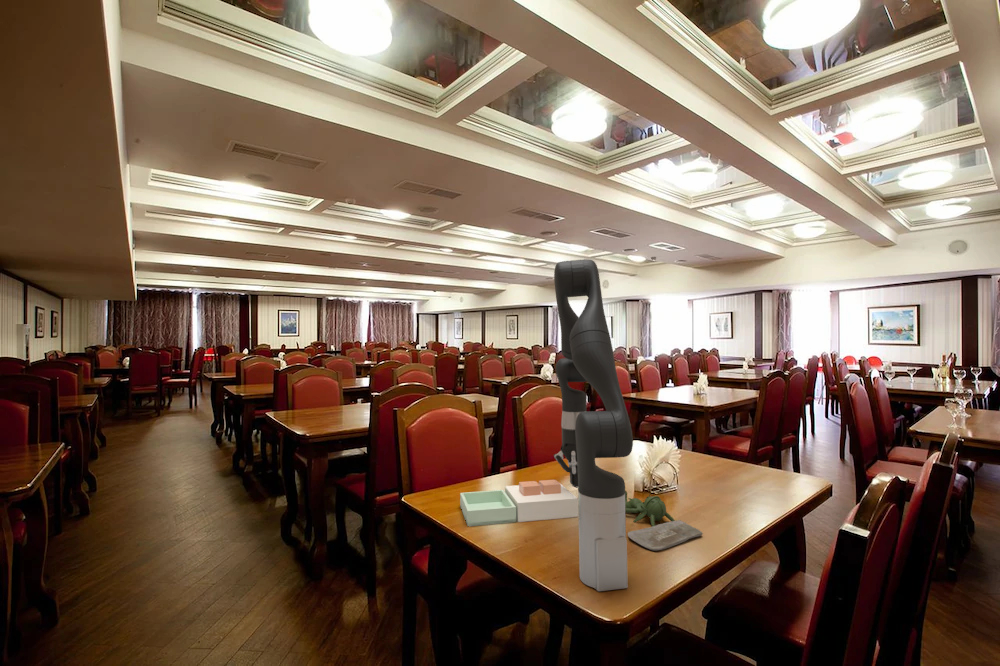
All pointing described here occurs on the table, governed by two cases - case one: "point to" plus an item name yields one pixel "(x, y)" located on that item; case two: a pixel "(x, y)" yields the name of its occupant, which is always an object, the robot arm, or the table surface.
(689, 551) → the table surface
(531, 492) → the tile
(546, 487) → the tile
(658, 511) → the figurine
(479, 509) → the box
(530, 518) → the raised plate
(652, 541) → the stone
